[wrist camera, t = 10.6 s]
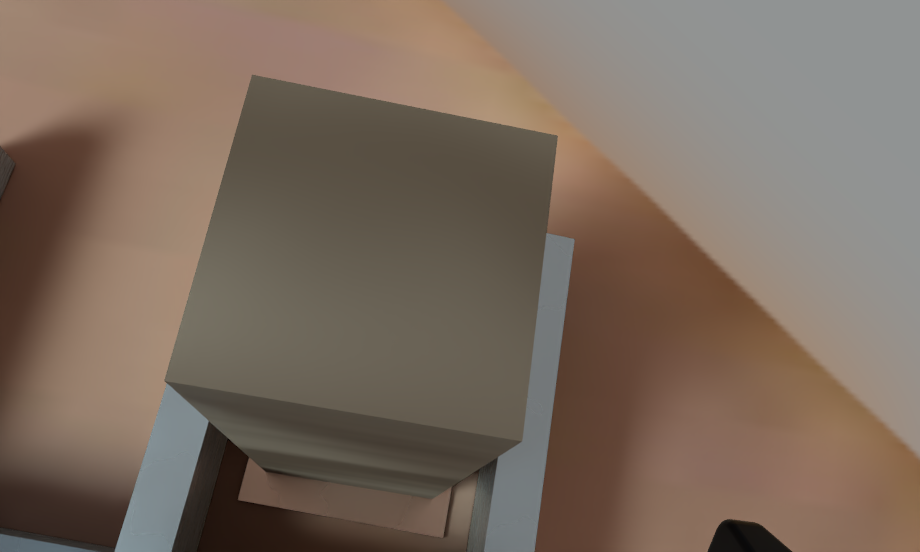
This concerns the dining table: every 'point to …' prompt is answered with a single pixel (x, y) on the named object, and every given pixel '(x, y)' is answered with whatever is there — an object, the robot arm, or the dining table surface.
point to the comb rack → (201, 451)
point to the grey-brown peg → (368, 290)
